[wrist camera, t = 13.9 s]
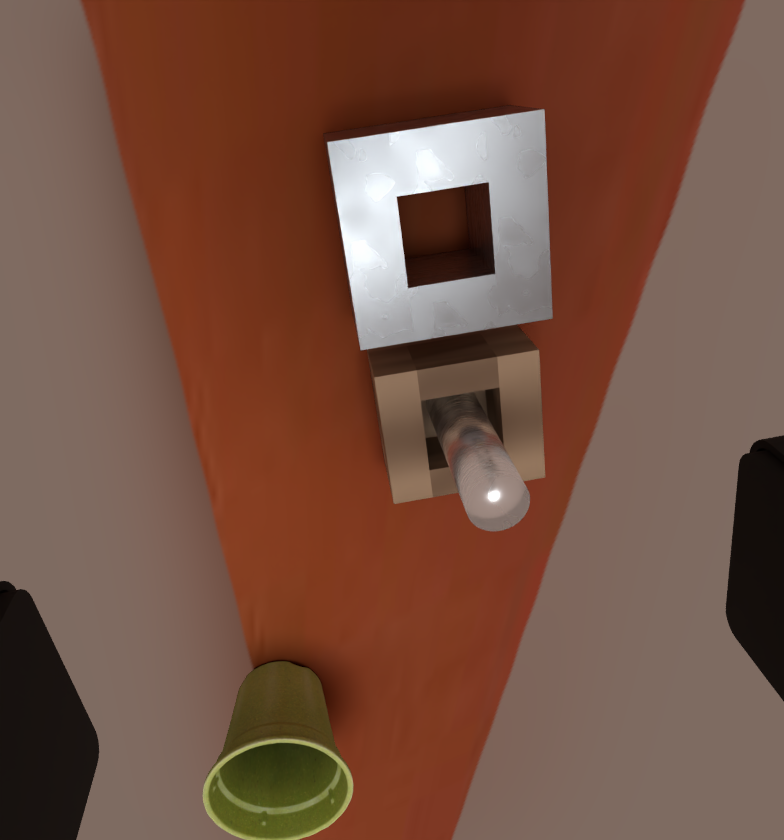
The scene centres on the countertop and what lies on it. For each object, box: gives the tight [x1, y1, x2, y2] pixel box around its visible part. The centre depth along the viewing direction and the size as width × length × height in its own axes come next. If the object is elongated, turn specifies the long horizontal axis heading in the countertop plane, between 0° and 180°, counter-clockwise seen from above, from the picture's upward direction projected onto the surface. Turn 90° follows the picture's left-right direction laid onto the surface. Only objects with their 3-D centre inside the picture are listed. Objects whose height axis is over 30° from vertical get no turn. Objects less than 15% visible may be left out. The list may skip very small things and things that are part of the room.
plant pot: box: [203, 661, 353, 840], centre depth 50 cm, size 9×9×9 cm
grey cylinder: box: [425, 392, 530, 531], centre depth 39 cm, size 3×3×12 cm
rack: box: [367, 324, 545, 504], centre depth 43 cm, size 8×9×5 cm
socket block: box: [323, 105, 552, 350], centre depth 38 cm, size 10×10×6 cm
